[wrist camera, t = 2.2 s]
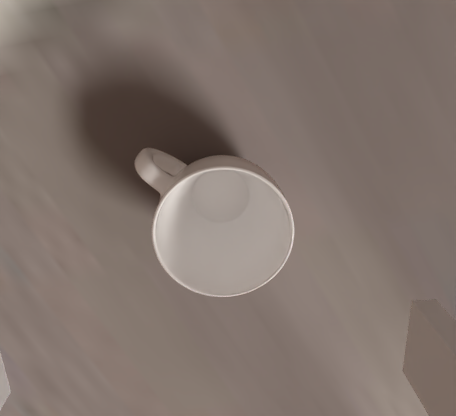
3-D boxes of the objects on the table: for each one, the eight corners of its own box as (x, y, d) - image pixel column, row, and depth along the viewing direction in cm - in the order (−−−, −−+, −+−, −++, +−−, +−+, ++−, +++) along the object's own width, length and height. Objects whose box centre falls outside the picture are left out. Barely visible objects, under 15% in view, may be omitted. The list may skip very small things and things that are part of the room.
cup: (228, 265, 32) (232, 320, 25) (114, 183, 29) (87, 222, 23) (300, 187, 30) (323, 225, 23) (184, 92, 27) (175, 106, 21)
